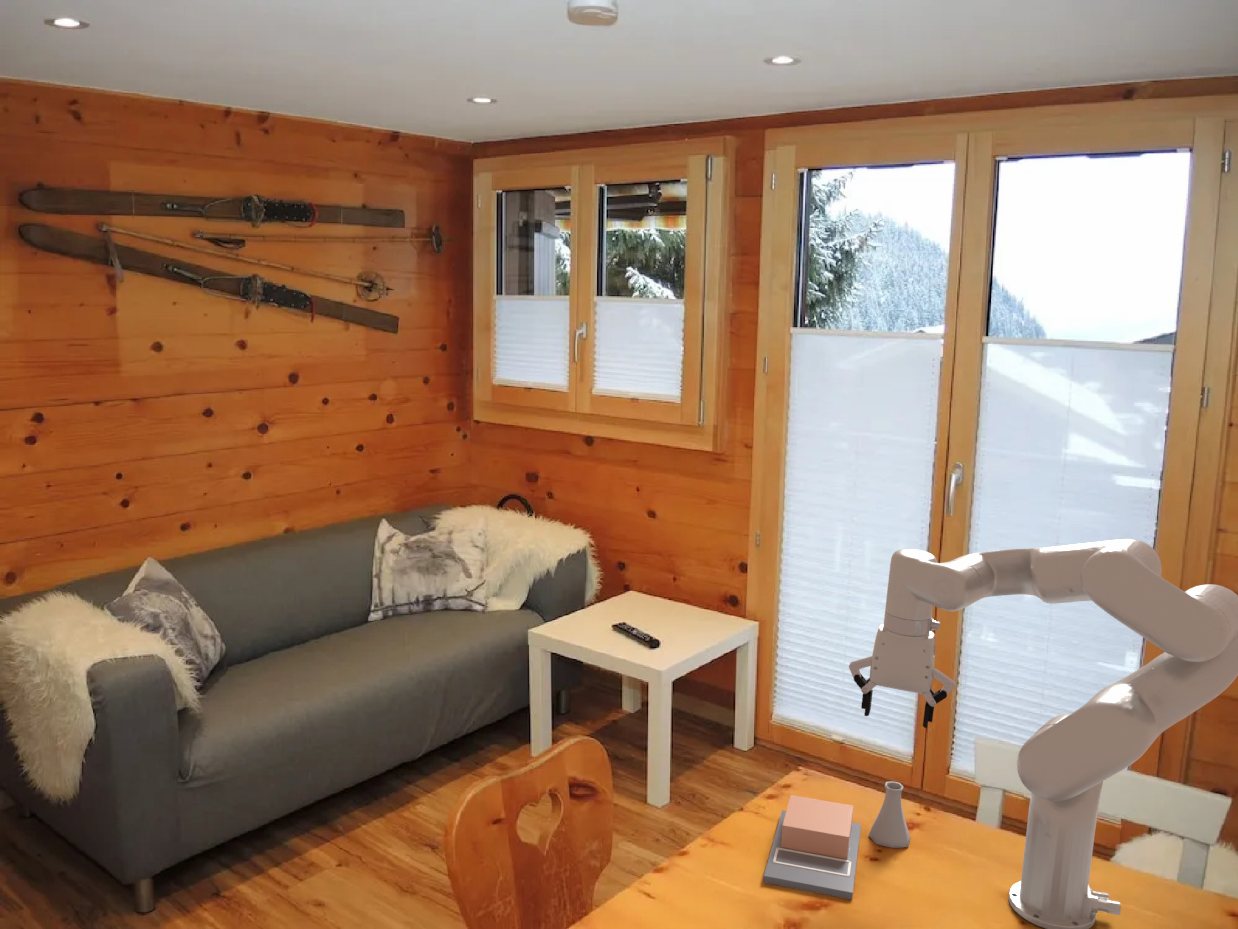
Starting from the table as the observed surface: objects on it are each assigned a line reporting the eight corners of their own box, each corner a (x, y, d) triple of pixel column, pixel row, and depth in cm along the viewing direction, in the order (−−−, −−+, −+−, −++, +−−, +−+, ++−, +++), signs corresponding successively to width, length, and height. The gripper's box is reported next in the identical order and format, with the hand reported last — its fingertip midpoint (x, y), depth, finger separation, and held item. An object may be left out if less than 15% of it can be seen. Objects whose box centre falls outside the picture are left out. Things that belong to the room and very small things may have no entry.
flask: (865, 826, 182) (869, 774, 180) (906, 829, 181) (911, 777, 180) (871, 848, 175) (876, 794, 173) (914, 851, 174) (919, 797, 173)
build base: (860, 830, 180) (862, 803, 180) (852, 899, 160) (854, 869, 159) (781, 816, 184) (783, 789, 183) (763, 882, 164) (765, 853, 163)
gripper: (962, 625, 170) (950, 720, 173) (857, 608, 176) (847, 700, 179) (960, 639, 163) (947, 738, 167) (851, 621, 169) (841, 717, 172)
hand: (896, 718), depth 173 cm, fingers open, 9 cm apart
